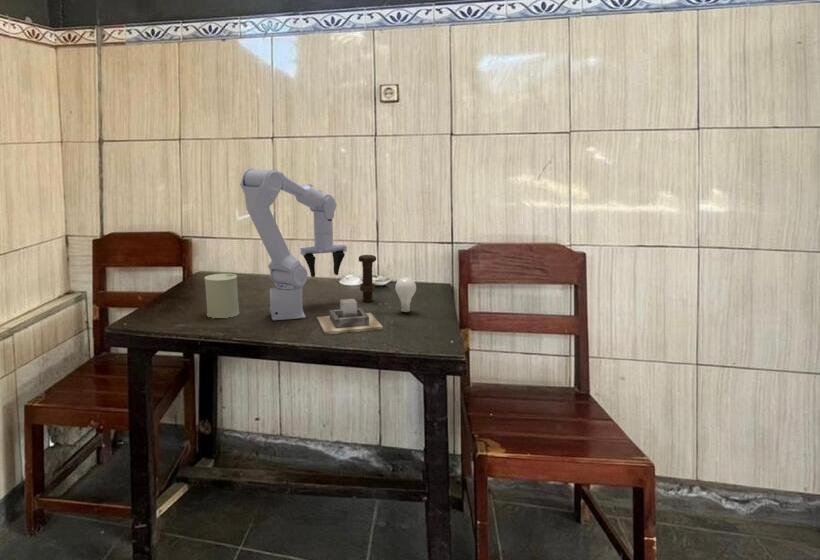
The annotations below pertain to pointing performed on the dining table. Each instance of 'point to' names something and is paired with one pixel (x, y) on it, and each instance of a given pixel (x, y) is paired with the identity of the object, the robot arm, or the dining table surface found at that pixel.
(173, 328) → the dining table surface
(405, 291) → the lightbulb
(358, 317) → the socket base
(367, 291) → the bolt
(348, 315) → the peg
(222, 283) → the can
